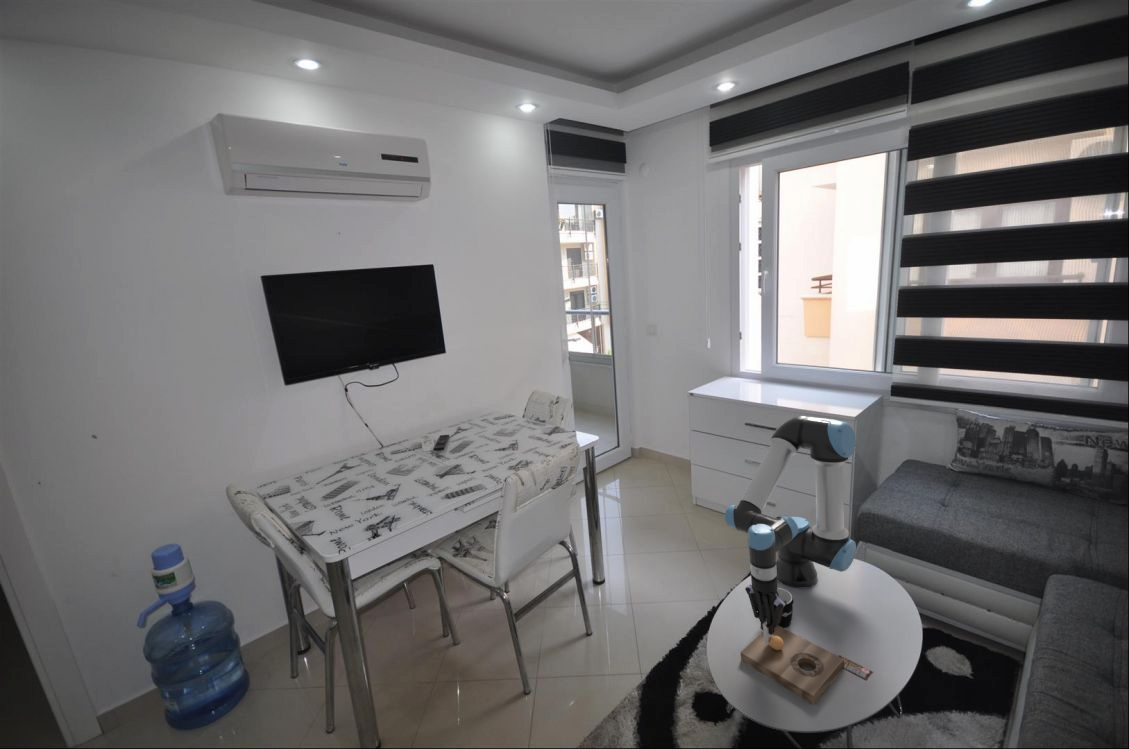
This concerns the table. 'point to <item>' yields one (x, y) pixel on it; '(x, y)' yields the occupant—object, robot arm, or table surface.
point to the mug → (785, 607)
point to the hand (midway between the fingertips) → (768, 640)
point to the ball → (776, 642)
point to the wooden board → (794, 664)
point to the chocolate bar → (856, 669)
